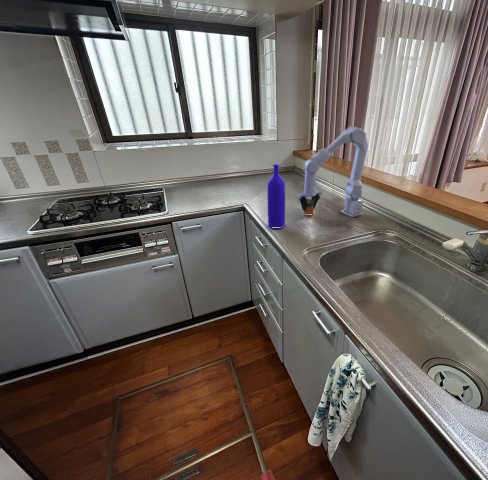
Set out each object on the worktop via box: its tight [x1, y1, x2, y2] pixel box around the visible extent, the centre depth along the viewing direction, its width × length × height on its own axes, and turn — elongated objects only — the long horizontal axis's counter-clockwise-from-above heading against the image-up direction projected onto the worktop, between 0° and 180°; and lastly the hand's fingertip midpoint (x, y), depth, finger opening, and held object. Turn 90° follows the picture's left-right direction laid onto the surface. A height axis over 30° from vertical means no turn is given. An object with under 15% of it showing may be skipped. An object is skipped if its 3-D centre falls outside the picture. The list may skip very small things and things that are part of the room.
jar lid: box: [306, 198, 315, 206], centre depth 140 cm, size 6×6×2 cm
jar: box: [303, 206, 315, 218], centre depth 142 cm, size 5×5×8 cm
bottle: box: [266, 163, 286, 231], centre depth 124 cm, size 8×8×30 cm
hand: (308, 209), depth 142 cm, fingers closed on jar lid, 5 cm apart
